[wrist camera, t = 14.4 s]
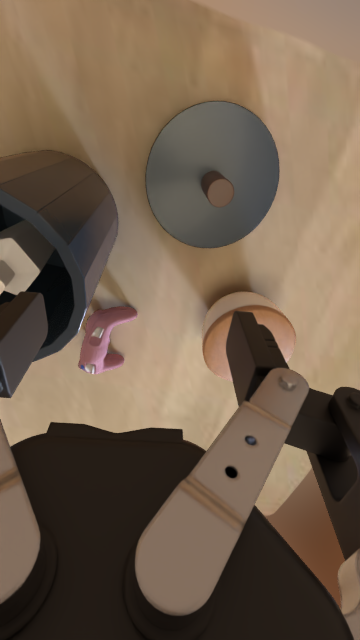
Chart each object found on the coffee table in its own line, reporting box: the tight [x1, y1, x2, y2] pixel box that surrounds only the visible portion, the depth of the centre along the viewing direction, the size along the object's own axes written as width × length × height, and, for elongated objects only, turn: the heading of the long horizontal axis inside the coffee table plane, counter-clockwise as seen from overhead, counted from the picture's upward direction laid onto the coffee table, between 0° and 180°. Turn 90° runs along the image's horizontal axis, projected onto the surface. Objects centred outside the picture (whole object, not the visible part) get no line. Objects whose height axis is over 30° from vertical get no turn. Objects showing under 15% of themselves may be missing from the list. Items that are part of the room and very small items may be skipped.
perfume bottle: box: [0, 220, 55, 295], centre depth 25 cm, size 5×4×15 cm
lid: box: [146, 101, 279, 248], centre depth 29 cm, size 14×14×6 cm
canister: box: [0, 150, 118, 362], centre depth 25 cm, size 13×13×17 cm
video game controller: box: [78, 307, 138, 374], centre depth 39 cm, size 10×5×7 cm, turn 162°
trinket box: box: [202, 292, 296, 381], centre depth 37 cm, size 11×11×9 cm
